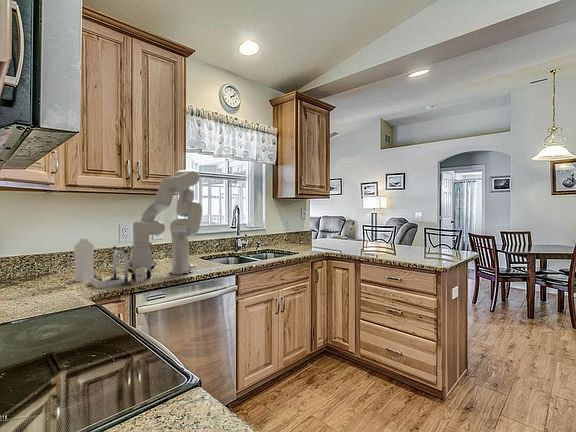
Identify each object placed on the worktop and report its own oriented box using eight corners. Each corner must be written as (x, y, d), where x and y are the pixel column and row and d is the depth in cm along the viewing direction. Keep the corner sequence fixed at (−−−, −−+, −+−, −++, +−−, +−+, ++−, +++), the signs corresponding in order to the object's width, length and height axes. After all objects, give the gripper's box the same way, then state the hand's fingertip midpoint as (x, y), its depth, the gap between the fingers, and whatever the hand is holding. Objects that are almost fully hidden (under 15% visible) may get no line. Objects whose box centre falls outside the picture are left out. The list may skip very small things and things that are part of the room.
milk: (85, 280, 169) (85, 238, 169) (94, 281, 167) (94, 238, 166) (74, 283, 163) (74, 239, 163) (82, 284, 161) (82, 239, 161)
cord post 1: (118, 278, 170) (117, 245, 170) (120, 279, 168) (120, 246, 167) (109, 279, 168) (109, 246, 167) (111, 280, 165) (111, 246, 164)
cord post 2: (129, 283, 158) (129, 248, 158) (132, 285, 155) (131, 249, 155) (120, 284, 155) (120, 249, 155) (123, 286, 152) (122, 250, 152)
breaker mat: (120, 279, 171) (120, 270, 171) (134, 286, 156) (134, 276, 156) (87, 284, 161) (87, 274, 161) (99, 292, 146) (99, 281, 145)
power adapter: (137, 279, 173) (137, 268, 173) (147, 278, 174) (147, 267, 174) (134, 283, 162) (134, 271, 162) (144, 283, 164) (144, 271, 164)
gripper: (155, 243, 177) (155, 276, 177) (120, 246, 165) (120, 281, 165) (160, 244, 171) (160, 278, 172) (125, 247, 159) (125, 283, 160)
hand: (141, 279), depth 168 cm, fingers closed on power adapter, 6 cm apart
